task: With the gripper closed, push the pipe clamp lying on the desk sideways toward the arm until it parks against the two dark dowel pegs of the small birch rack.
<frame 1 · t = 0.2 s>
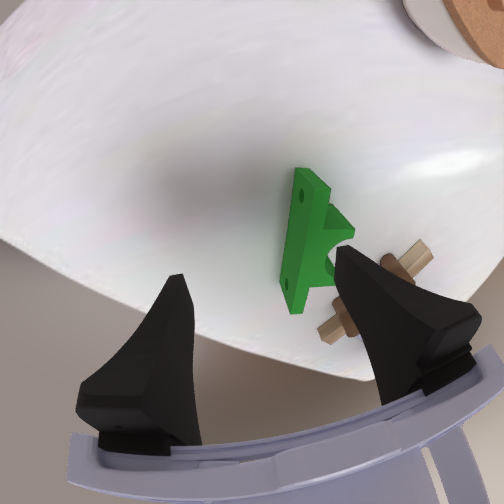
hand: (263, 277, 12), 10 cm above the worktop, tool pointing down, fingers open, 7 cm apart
lidded jar: (425, 9, 12), on the worktop
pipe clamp: (305, 229, 23), on the worktop
peg rack: (365, 283, 28), on the worktop
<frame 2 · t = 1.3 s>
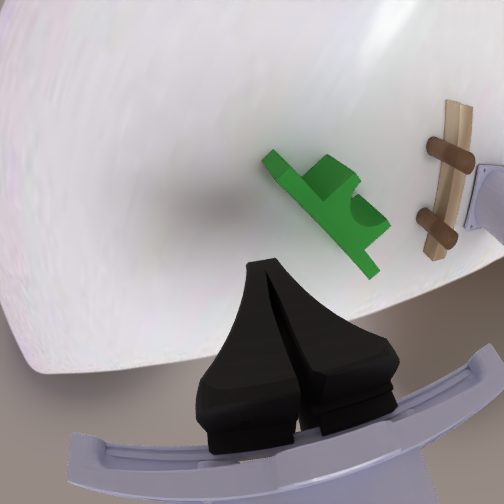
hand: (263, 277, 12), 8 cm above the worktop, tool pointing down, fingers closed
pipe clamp: (327, 194, 20), on the worktop
peg rack: (433, 182, 20), on the worktop
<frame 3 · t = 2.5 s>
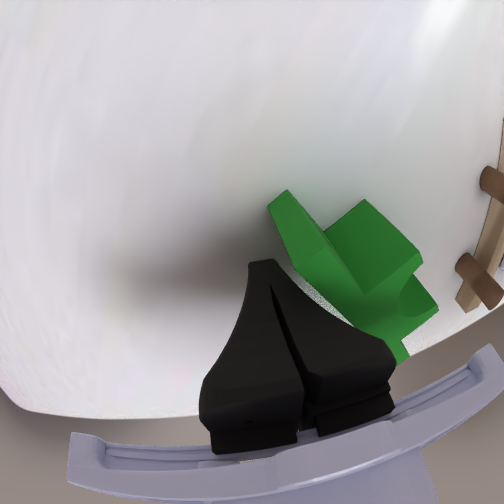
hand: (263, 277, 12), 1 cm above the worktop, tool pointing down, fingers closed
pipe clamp: (355, 253, 14), on the worktop, touching gripper
peg rack: (480, 222, 14), on the worktop
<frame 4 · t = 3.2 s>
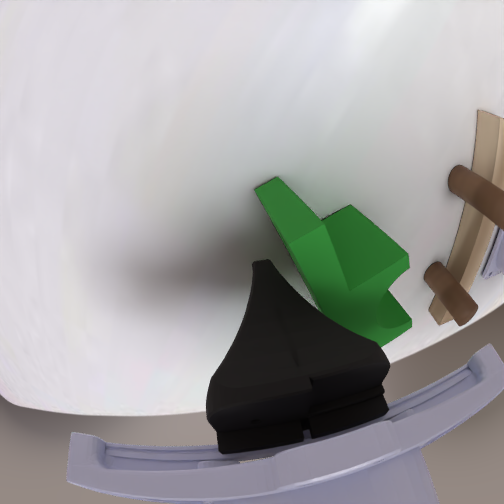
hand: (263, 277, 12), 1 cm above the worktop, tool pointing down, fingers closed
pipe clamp: (330, 261, 14), on the worktop, touching gripper
peg rack: (452, 228, 14), on the worktop
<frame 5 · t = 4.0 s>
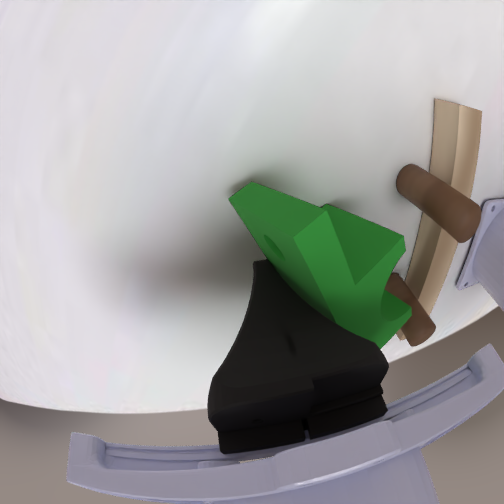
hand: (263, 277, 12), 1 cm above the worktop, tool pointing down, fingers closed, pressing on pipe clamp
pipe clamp: (312, 268, 13), on the worktop, touching gripper
peg rack: (407, 236, 14), on the worktop
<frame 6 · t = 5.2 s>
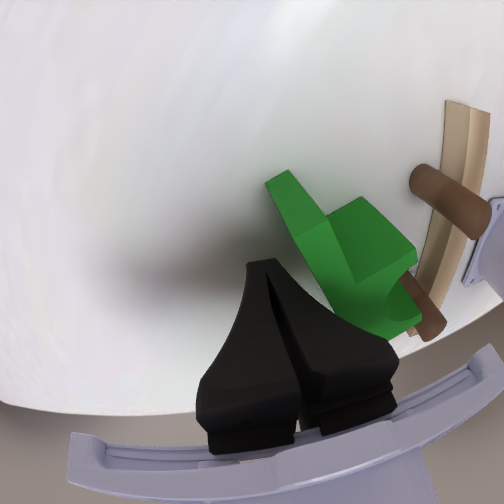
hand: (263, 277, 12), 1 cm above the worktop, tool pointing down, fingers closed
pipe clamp: (342, 252, 14), on the worktop, touching gripper
peg rack: (419, 234, 14), on the worktop
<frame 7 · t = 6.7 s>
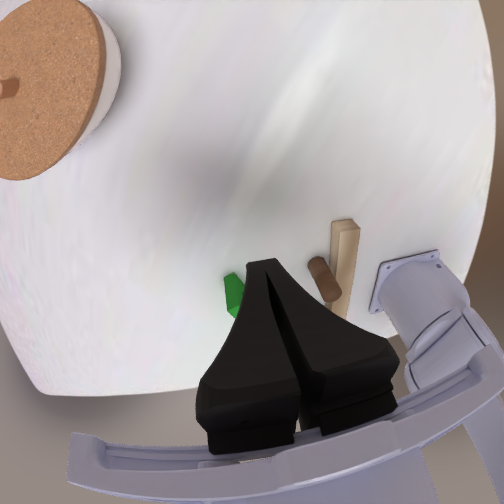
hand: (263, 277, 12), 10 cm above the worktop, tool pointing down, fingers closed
lidded jar: (76, 81, 14), on the worktop
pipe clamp: (267, 301, 29), on the worktop
peg rack: (320, 288, 28), on the worktop
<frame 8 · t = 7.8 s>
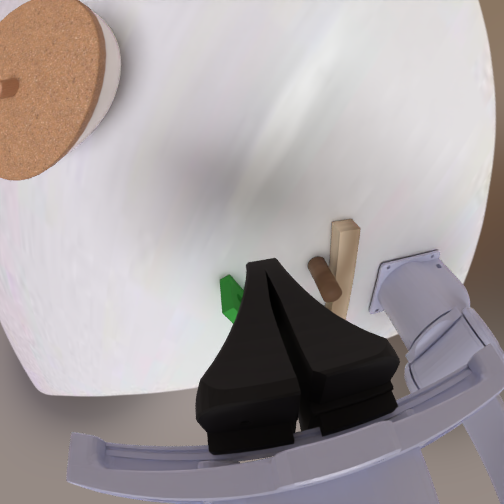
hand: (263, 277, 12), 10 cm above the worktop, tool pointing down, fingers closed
lidded jar: (76, 81, 14), on the worktop
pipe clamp: (263, 303, 29), on the worktop
peg rack: (320, 288, 28), on the worktop
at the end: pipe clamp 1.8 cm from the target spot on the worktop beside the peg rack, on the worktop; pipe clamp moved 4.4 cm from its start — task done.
